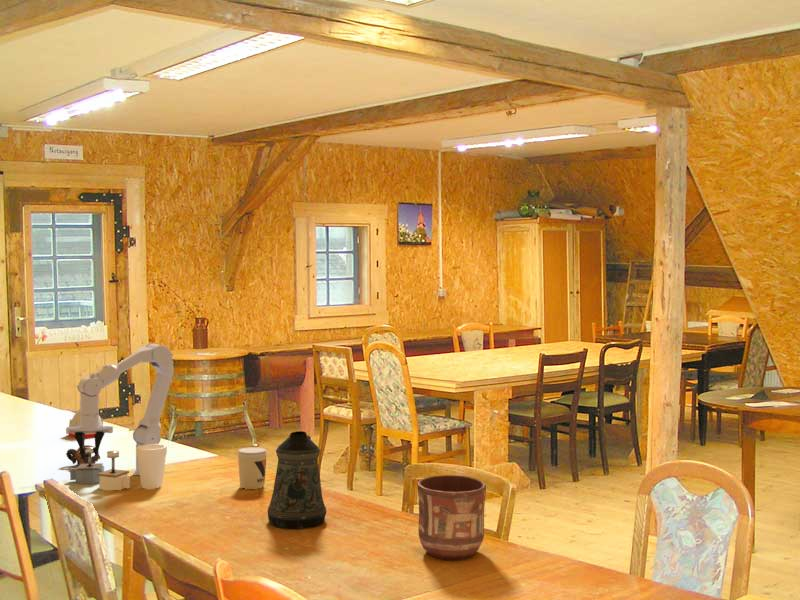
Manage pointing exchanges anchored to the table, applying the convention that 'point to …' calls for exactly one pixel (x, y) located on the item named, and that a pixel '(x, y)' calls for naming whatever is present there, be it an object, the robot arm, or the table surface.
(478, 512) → the pottery
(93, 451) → the metal bulb with stem
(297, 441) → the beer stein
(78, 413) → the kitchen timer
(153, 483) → the foam cup
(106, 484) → the cream boxy piece
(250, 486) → the coffee cup
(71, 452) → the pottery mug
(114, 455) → the cream pot plunger
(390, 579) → the table surface
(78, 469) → the gray faceted block
